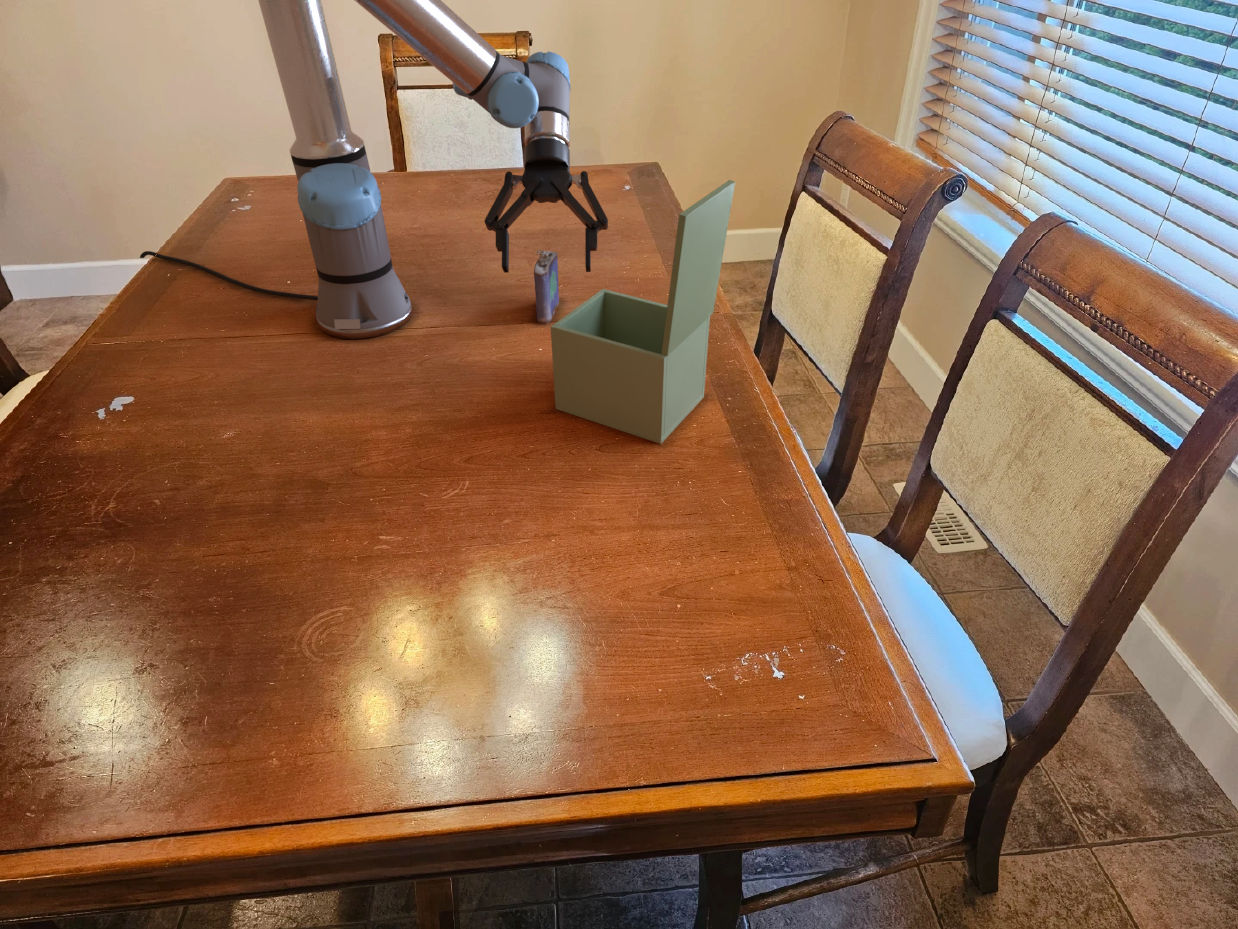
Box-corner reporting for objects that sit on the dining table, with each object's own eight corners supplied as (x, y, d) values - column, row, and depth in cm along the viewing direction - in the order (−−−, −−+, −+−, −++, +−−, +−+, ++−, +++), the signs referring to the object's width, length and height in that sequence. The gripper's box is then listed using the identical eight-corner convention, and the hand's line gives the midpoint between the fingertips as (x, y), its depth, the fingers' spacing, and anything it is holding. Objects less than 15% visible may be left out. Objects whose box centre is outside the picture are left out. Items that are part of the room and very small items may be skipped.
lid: (678, 214, 85) (685, 216, 84) (729, 179, 94) (735, 181, 93) (661, 354, 96) (667, 356, 96) (707, 311, 105) (713, 313, 105)
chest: (555, 409, 110) (550, 326, 103) (604, 367, 119) (602, 288, 112) (660, 444, 104) (664, 358, 96) (704, 397, 113) (710, 315, 105)
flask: (550, 324, 130) (546, 262, 124) (532, 323, 131) (527, 261, 124) (561, 300, 137) (558, 240, 131) (544, 299, 138) (540, 239, 131)
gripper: (621, 158, 137) (622, 276, 134) (476, 159, 137) (474, 277, 134) (621, 134, 129) (622, 259, 127) (468, 135, 129) (466, 260, 127)
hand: (546, 269), depth 130 cm, fingers open, 13 cm apart
